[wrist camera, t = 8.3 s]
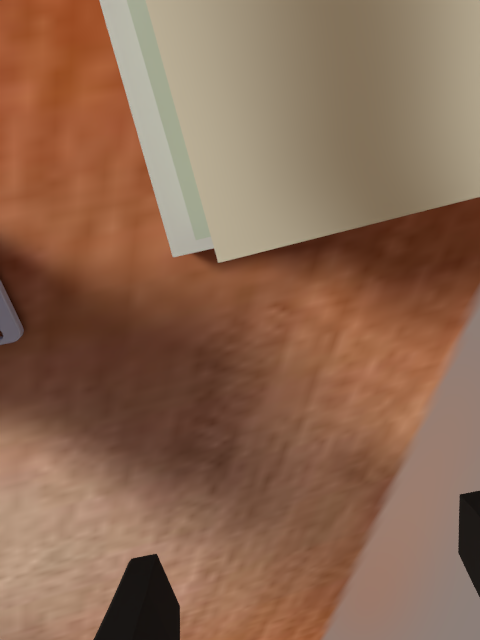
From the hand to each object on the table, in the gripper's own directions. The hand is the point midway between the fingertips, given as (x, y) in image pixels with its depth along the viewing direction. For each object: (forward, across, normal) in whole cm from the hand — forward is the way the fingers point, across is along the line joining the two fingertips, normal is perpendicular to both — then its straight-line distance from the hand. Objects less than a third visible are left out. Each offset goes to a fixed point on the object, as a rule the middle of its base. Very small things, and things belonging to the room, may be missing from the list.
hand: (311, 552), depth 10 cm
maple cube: (+6, -2, -10) cm, 12 cm away
